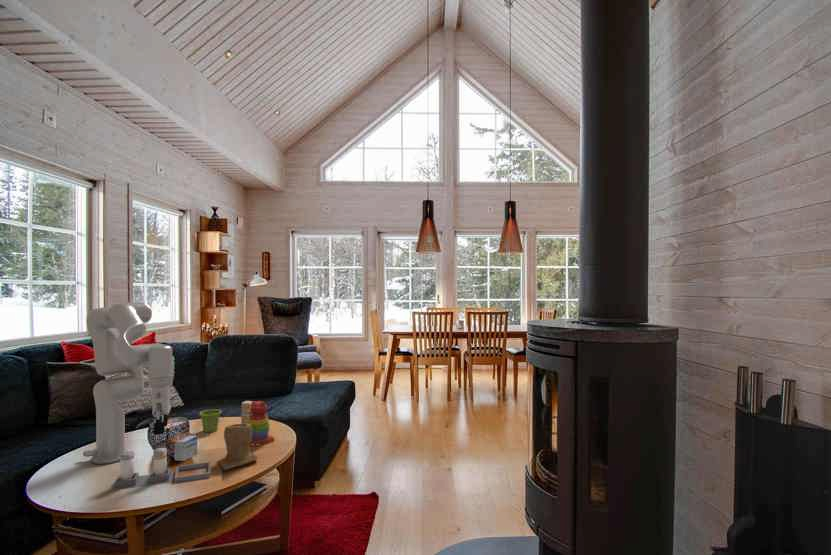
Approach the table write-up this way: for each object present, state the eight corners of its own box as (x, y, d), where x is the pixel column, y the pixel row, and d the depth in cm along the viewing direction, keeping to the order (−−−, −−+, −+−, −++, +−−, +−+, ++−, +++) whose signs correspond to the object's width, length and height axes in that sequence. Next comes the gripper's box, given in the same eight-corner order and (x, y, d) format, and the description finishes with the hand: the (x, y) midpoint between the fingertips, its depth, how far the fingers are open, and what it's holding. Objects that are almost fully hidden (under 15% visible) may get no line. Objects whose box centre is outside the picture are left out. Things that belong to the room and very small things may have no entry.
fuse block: (110, 495, 156) (110, 484, 156) (116, 483, 165) (116, 473, 165) (171, 486, 162) (171, 476, 162) (174, 475, 172) (174, 465, 172)
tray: (174, 486, 162) (174, 478, 162) (177, 474, 172) (177, 466, 172) (209, 481, 166) (209, 472, 166) (210, 469, 177) (210, 461, 177)
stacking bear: (276, 440, 210) (276, 399, 210) (260, 447, 201) (260, 405, 201) (257, 436, 214) (257, 397, 214) (240, 443, 205) (240, 402, 205)
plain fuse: (119, 486, 159) (119, 456, 159) (121, 481, 163) (121, 452, 163) (132, 484, 161) (132, 454, 161) (134, 479, 164) (134, 450, 164)
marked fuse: (152, 481, 163) (152, 452, 163) (154, 477, 167) (154, 448, 167) (165, 479, 164) (166, 450, 164) (167, 475, 168) (167, 447, 168)
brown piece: (245, 454, 192) (245, 417, 192) (261, 462, 184) (262, 423, 184) (209, 466, 180) (209, 426, 180) (224, 474, 173) (225, 433, 173)
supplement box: (240, 430, 223) (240, 403, 223) (246, 427, 227) (246, 400, 227) (257, 431, 221) (257, 403, 221) (262, 428, 226) (262, 401, 226)
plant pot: (225, 430, 224) (225, 411, 224) (205, 435, 216) (205, 416, 216) (214, 426, 230) (214, 408, 230) (195, 431, 222) (195, 412, 222)
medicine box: (184, 465, 181) (184, 442, 181) (174, 464, 182) (174, 441, 182) (197, 457, 189) (197, 435, 189) (187, 456, 190) (187, 435, 190)
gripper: (170, 384, 159) (170, 435, 159) (174, 376, 175) (175, 422, 175) (144, 386, 156) (144, 439, 156) (151, 377, 172) (152, 425, 172)
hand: (160, 430), depth 165 cm, fingers open, 9 cm apart
